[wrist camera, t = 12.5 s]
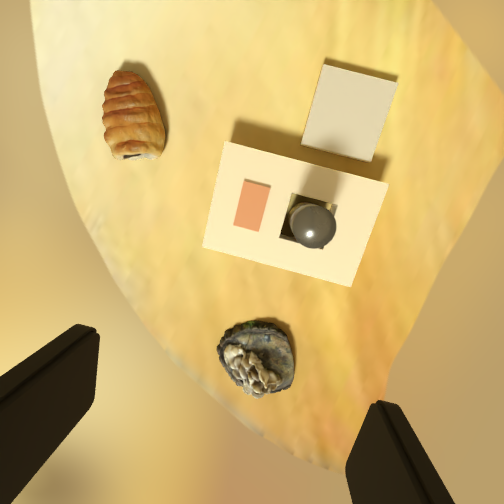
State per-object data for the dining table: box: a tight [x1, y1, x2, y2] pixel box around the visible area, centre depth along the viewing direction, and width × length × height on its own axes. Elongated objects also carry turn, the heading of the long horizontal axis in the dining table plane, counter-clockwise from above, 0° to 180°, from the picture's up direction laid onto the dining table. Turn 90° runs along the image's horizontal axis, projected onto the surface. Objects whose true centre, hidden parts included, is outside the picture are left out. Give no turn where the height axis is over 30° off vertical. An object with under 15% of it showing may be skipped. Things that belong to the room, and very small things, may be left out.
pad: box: [300, 64, 398, 163], centre depth 29 cm, size 8×8×1 cm
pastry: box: [102, 70, 165, 160], centre depth 30 cm, size 9×7×4 cm
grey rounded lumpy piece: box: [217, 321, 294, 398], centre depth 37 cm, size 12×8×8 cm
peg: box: [288, 202, 336, 249], centre depth 28 cm, size 4×4×8 cm
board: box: [202, 141, 389, 287], centre depth 31 cm, size 12×18×3 cm, turn 76°
